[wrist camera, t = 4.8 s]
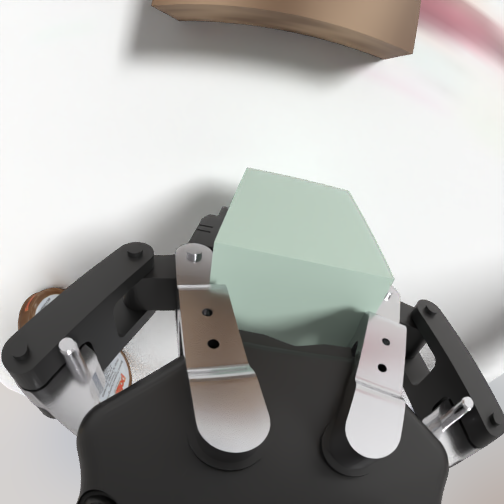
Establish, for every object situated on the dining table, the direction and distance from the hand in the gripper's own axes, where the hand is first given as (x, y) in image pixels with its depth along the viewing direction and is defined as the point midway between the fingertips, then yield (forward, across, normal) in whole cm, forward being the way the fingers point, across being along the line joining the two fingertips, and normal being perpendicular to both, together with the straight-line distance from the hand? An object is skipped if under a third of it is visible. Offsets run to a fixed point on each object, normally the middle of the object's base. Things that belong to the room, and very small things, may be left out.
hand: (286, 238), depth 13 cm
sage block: (+1, 0, 0) cm, 1 cm away
